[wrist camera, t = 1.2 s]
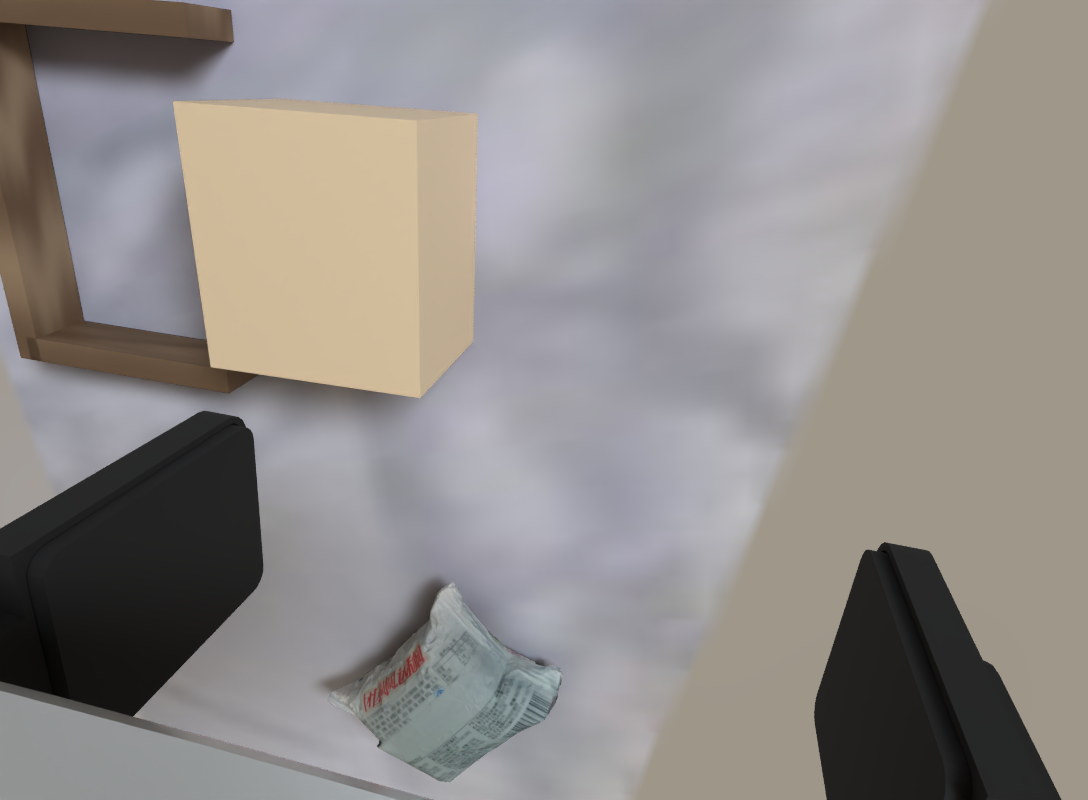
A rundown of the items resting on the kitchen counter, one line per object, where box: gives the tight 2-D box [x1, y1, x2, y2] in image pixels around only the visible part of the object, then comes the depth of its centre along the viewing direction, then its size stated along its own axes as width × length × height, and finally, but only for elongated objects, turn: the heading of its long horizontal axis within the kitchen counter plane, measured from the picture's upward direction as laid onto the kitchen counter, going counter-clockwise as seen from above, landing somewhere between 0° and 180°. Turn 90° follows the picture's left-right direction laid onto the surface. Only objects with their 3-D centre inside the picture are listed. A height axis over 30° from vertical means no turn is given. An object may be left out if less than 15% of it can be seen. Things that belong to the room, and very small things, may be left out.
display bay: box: [0, 0, 259, 393], centre depth 33 cm, size 16×12×3 cm
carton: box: [173, 99, 478, 398], centre depth 29 cm, size 10×9×7 cm
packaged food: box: [328, 582, 563, 782], centre depth 40 cm, size 9×12×5 cm
